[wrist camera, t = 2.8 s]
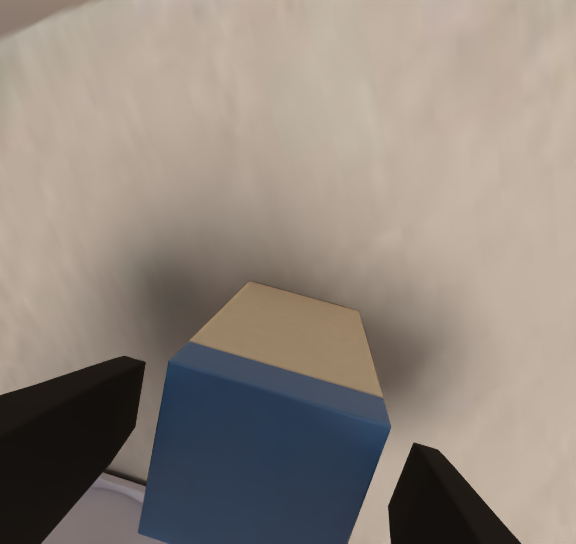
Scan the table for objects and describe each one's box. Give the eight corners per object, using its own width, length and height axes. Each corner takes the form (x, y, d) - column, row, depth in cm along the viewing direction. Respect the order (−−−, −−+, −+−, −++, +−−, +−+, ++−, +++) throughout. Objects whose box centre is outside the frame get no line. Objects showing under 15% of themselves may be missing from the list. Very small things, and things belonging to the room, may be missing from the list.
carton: (226, 378, 14) (136, 534, 8) (249, 280, 13) (167, 360, 7) (328, 408, 14) (328, 598, 7) (359, 311, 13) (392, 426, 6)
